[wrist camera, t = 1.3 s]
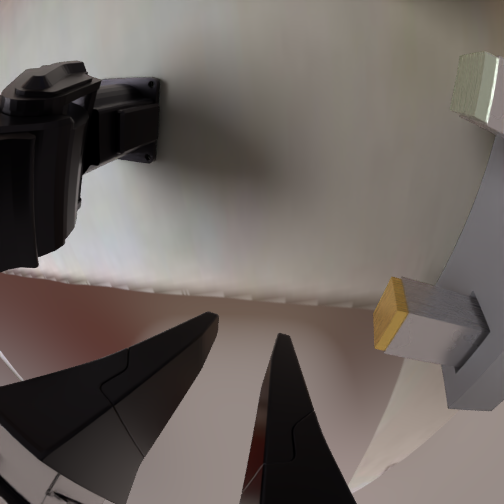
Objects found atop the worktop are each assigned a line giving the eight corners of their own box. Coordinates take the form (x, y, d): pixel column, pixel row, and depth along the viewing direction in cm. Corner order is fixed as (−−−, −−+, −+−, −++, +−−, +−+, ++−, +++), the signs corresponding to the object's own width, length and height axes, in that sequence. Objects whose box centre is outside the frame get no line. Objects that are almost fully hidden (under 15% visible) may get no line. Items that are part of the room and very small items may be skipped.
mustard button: (372, 313, 17) (373, 350, 14) (392, 274, 15) (398, 310, 12) (468, 336, 15) (477, 370, 13) (491, 302, 14) (506, 336, 11)
